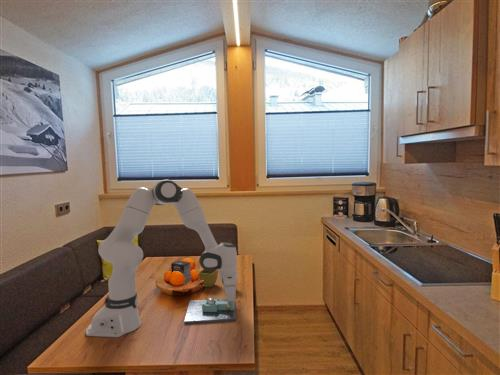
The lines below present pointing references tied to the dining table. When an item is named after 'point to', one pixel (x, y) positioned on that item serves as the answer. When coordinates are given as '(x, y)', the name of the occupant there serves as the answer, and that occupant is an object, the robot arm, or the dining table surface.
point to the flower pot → (208, 277)
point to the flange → (216, 306)
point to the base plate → (207, 313)
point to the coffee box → (182, 269)
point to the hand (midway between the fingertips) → (229, 303)
